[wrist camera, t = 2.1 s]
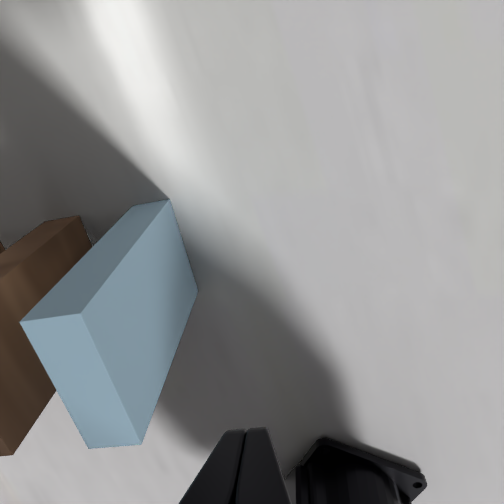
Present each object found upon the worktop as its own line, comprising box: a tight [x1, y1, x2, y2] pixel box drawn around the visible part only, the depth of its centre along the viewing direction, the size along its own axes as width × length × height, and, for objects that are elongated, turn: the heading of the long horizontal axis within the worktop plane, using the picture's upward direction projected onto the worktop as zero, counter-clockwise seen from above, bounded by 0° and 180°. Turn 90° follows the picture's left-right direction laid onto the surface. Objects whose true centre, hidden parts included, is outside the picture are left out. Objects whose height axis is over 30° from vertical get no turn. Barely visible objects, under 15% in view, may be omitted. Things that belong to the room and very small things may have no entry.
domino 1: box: [0, 216, 92, 456], centre depth 15 cm, size 2×4×8 cm, turn 12°
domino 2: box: [20, 199, 198, 449], centre depth 14 cm, size 2×4×8 cm, turn 13°
